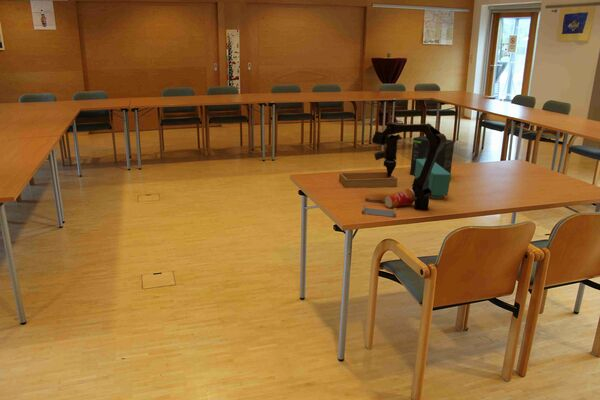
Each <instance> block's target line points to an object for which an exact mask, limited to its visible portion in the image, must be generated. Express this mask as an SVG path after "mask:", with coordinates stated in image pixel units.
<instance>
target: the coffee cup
mask: <svg viewBox="0 0 600 400" xmlns="http://www.w3.org/2000/svg"><path fill="white" fill-rule="evenodd" d="M384 200H385V203H384V204H385V206H386V207H387V208H389V209H390V208H396V207H400V206H405V205H413V203H415V195H414V192H413V190H412V188H406V189H405V190H402V191H399V192H396V193H392V194H390V195H389V194H388V195H387V196H385V198H384Z"/></svg>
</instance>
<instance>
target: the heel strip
mask: <svg viewBox="0 0 600 400" xmlns="http://www.w3.org/2000/svg"><path fill="white" fill-rule="evenodd" d="M364 202H367V203H368V202H369V203H378V204H385V199H380V198H369V197H365V201H364Z"/></svg>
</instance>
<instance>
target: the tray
mask: <svg viewBox="0 0 600 400" xmlns="http://www.w3.org/2000/svg"><path fill="white" fill-rule="evenodd" d="M338 177H339V178H338V179H339V180H338V181H339V182H340V184H341V185H342V186H343V187H344V188H345V189H359V188H360V189H361V188H364V187H365V188H384V187H387V188H389V187H395V188H396V187H397V186H398V177H396V176H395V175H393V173H392V174H391V176H390V177H388V176H387V171H365V172H364V171H361V172H360V171H359V172H358V171H357V172H339V176H338Z"/></svg>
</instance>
